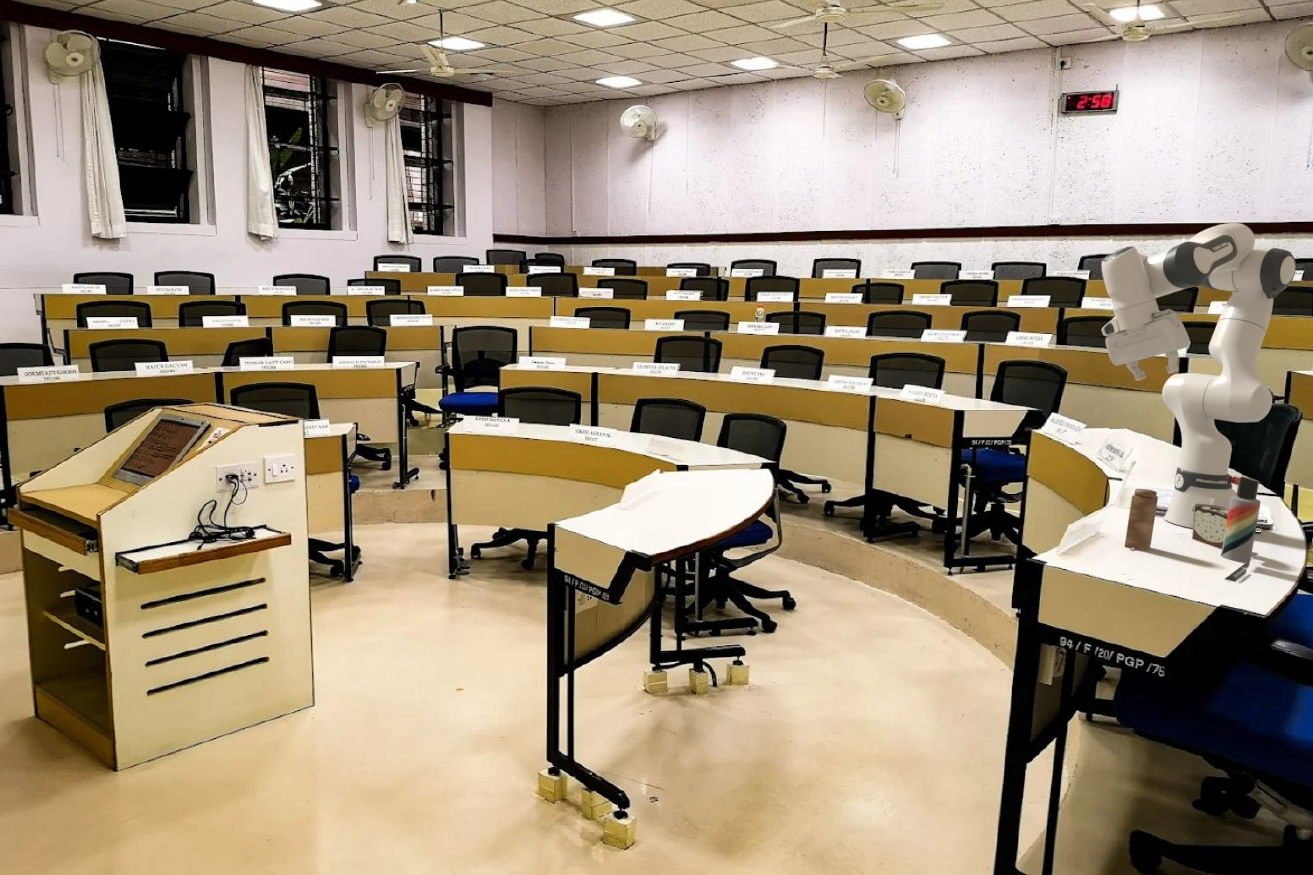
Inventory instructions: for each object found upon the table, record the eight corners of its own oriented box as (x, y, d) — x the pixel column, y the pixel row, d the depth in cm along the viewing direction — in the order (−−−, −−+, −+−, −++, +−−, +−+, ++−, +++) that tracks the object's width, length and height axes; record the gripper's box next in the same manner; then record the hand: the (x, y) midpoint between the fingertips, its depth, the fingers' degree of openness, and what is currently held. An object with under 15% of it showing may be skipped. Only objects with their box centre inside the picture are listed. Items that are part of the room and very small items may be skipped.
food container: (1251, 557, 218) (1258, 516, 216) (1230, 558, 216) (1237, 516, 214) (1206, 542, 229) (1213, 502, 227) (1186, 543, 227) (1193, 502, 226)
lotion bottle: (1216, 558, 215) (1231, 473, 212) (1244, 562, 214) (1260, 476, 210) (1223, 565, 210) (1238, 478, 206) (1252, 569, 208) (1268, 481, 205)
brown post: (1121, 547, 214) (1129, 491, 212) (1133, 541, 220) (1141, 486, 218) (1141, 552, 211) (1150, 495, 209) (1153, 546, 217) (1162, 490, 215)
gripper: (1185, 303, 205) (1205, 364, 205) (1116, 325, 225) (1134, 380, 224) (1163, 310, 203) (1183, 371, 203) (1096, 331, 223) (1113, 387, 222)
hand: (1157, 376), depth 214 cm, fingers open, 8 cm apart
